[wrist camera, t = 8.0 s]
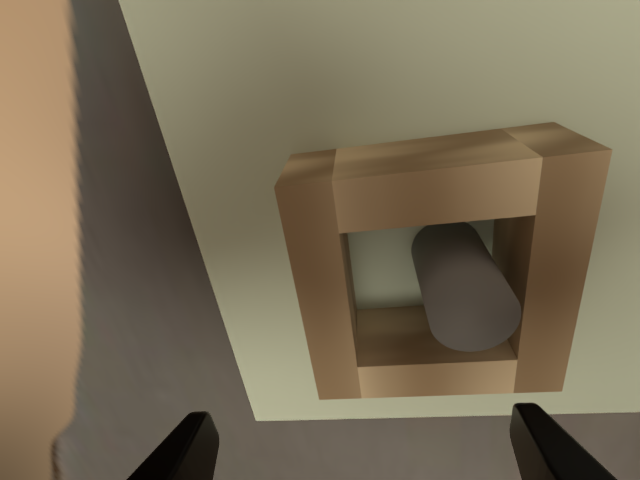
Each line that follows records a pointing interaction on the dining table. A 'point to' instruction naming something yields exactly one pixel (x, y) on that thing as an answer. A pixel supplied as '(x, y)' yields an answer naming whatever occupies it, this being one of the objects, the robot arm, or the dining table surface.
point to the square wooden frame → (440, 208)
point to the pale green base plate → (390, 126)
